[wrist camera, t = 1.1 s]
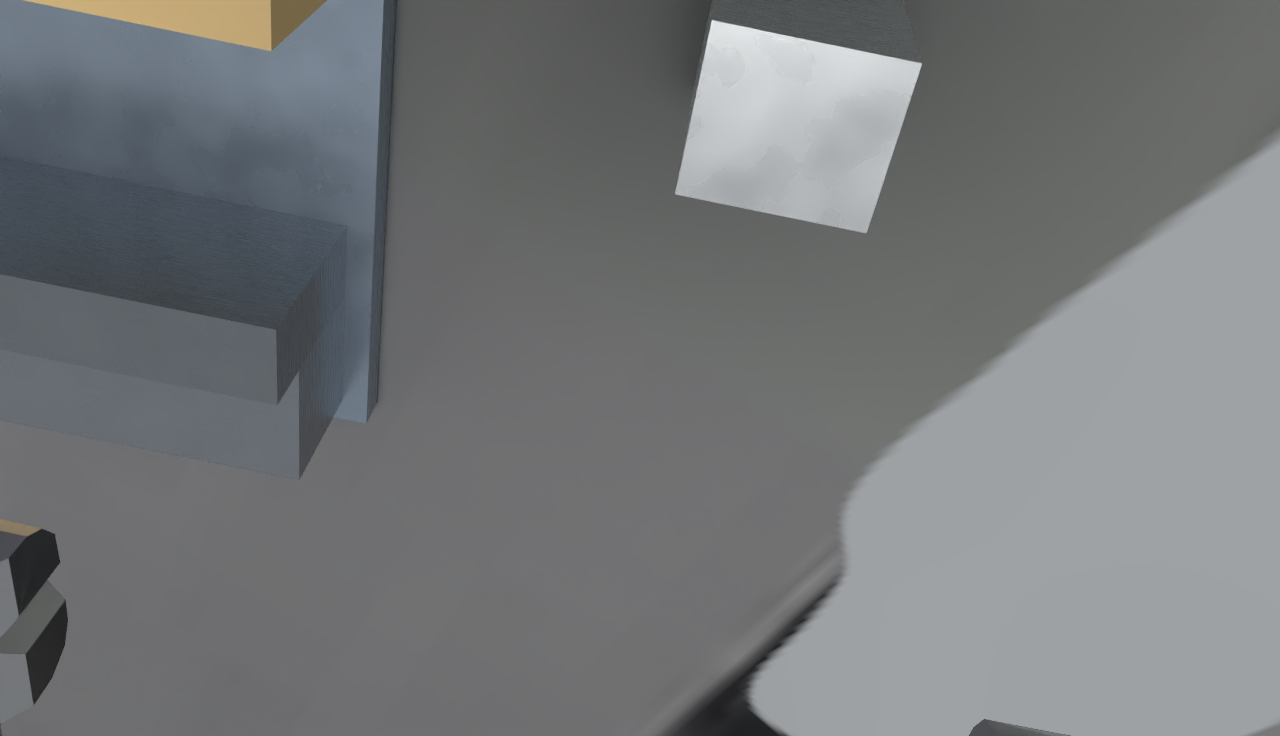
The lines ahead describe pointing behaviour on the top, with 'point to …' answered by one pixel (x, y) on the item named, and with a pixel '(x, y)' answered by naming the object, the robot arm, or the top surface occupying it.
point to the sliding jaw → (206, 17)
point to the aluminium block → (799, 107)
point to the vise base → (222, 124)
